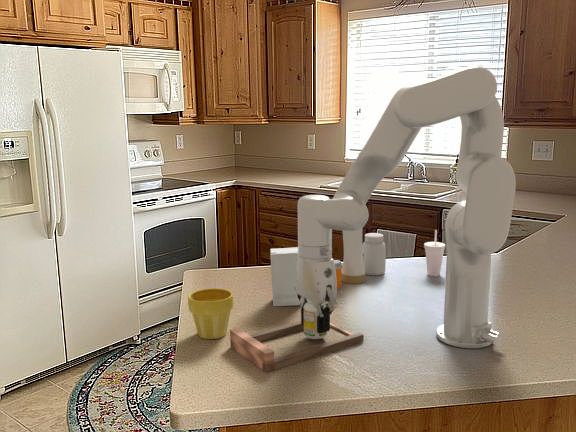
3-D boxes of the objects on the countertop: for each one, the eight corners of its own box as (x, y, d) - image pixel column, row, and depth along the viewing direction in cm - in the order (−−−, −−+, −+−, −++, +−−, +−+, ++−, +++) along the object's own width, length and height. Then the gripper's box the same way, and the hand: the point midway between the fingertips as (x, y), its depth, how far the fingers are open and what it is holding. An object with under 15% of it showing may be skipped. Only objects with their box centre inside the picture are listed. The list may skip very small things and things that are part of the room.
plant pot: (204, 323, 142) (202, 285, 140) (241, 328, 138) (240, 290, 136) (181, 339, 133) (179, 298, 131) (220, 345, 129) (219, 304, 127)
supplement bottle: (305, 340, 129) (304, 299, 127) (302, 330, 134) (301, 291, 132) (328, 339, 130) (328, 298, 128) (325, 329, 135) (325, 290, 133)
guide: (363, 341, 131) (363, 324, 130) (266, 372, 116) (265, 353, 115) (323, 320, 143) (323, 305, 142) (230, 346, 128) (230, 330, 128)
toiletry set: (370, 268, 187) (371, 205, 183) (390, 272, 181) (391, 208, 177) (319, 286, 169) (319, 217, 165) (339, 291, 164) (339, 221, 160)
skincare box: (301, 298, 159) (301, 246, 156) (303, 306, 153) (302, 252, 150) (271, 299, 158) (270, 247, 156) (271, 307, 153) (270, 252, 150)
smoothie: (446, 273, 180) (448, 229, 177) (440, 278, 174) (442, 233, 172) (427, 270, 183) (428, 227, 180) (420, 275, 178) (421, 231, 175)
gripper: (352, 256, 123) (352, 336, 127) (306, 240, 137) (306, 312, 141) (325, 262, 119) (325, 344, 123) (279, 245, 133) (281, 319, 137)
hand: (315, 326), depth 132 cm, fingers closed on supplement bottle, 5 cm apart
